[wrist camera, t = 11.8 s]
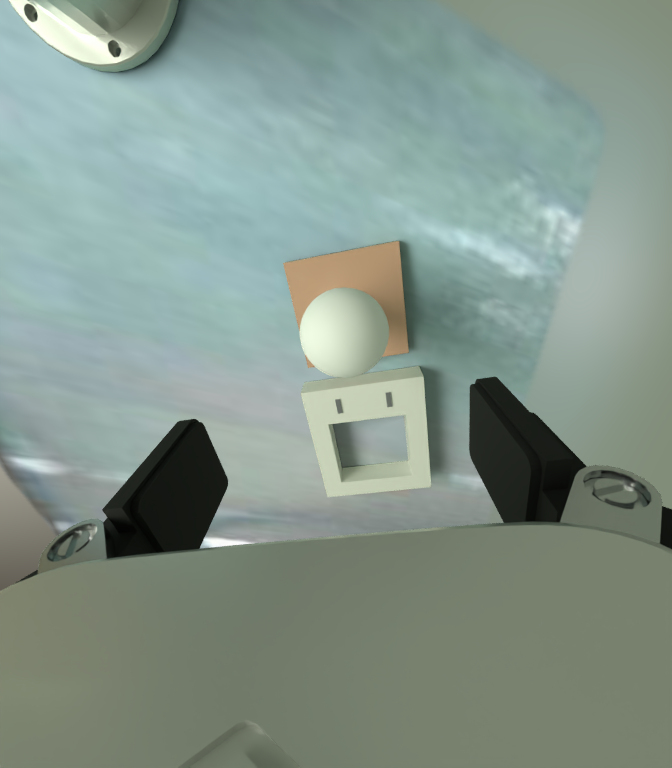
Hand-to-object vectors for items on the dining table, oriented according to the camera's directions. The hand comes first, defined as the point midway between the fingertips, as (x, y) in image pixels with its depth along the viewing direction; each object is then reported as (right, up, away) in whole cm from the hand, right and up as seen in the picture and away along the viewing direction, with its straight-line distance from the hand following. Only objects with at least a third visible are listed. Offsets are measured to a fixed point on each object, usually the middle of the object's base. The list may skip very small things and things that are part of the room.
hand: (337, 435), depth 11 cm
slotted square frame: (+4, -3, +25) cm, 25 cm away
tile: (+1, +9, +19) cm, 21 cm away
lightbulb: (+1, +9, +18) cm, 20 cm away
